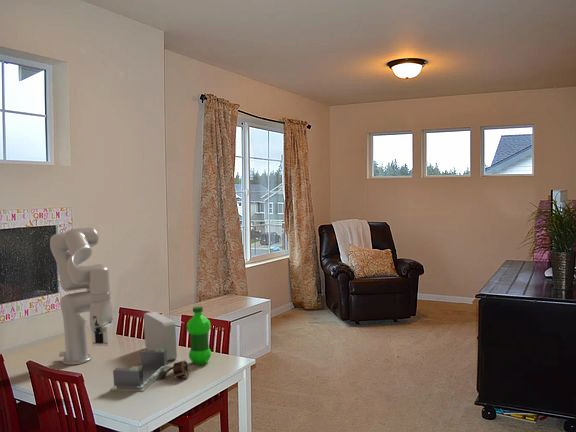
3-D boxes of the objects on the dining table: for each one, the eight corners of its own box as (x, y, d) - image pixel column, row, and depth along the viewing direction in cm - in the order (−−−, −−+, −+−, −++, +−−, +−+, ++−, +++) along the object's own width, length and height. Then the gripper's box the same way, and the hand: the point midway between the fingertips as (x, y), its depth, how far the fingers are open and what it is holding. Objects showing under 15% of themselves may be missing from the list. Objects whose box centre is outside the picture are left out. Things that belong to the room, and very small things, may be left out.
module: (92, 345, 216) (91, 326, 216) (98, 342, 221) (97, 323, 220) (108, 346, 215) (106, 326, 214) (114, 342, 220) (113, 323, 219)
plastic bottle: (195, 358, 244) (192, 304, 242) (216, 359, 240) (213, 305, 239) (184, 365, 234) (181, 309, 233) (205, 367, 231) (202, 310, 229)
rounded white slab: (182, 359, 243) (179, 320, 242) (166, 362, 239) (163, 323, 238) (160, 345, 267) (158, 309, 266) (145, 348, 263) (143, 312, 262)
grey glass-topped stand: (110, 390, 209) (108, 368, 208) (141, 366, 235) (140, 347, 234) (143, 391, 206) (142, 369, 205) (171, 367, 232) (170, 348, 232)
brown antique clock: (179, 371, 212) (193, 358, 220) (153, 365, 217) (168, 352, 226) (181, 386, 214) (195, 373, 222) (156, 380, 219) (170, 367, 228)
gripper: (103, 292, 226) (105, 334, 227) (80, 301, 209) (83, 347, 210) (119, 292, 224) (121, 335, 225) (97, 302, 208) (100, 347, 209)
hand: (103, 340), depth 218 cm, fingers closed on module, 5 cm apart
